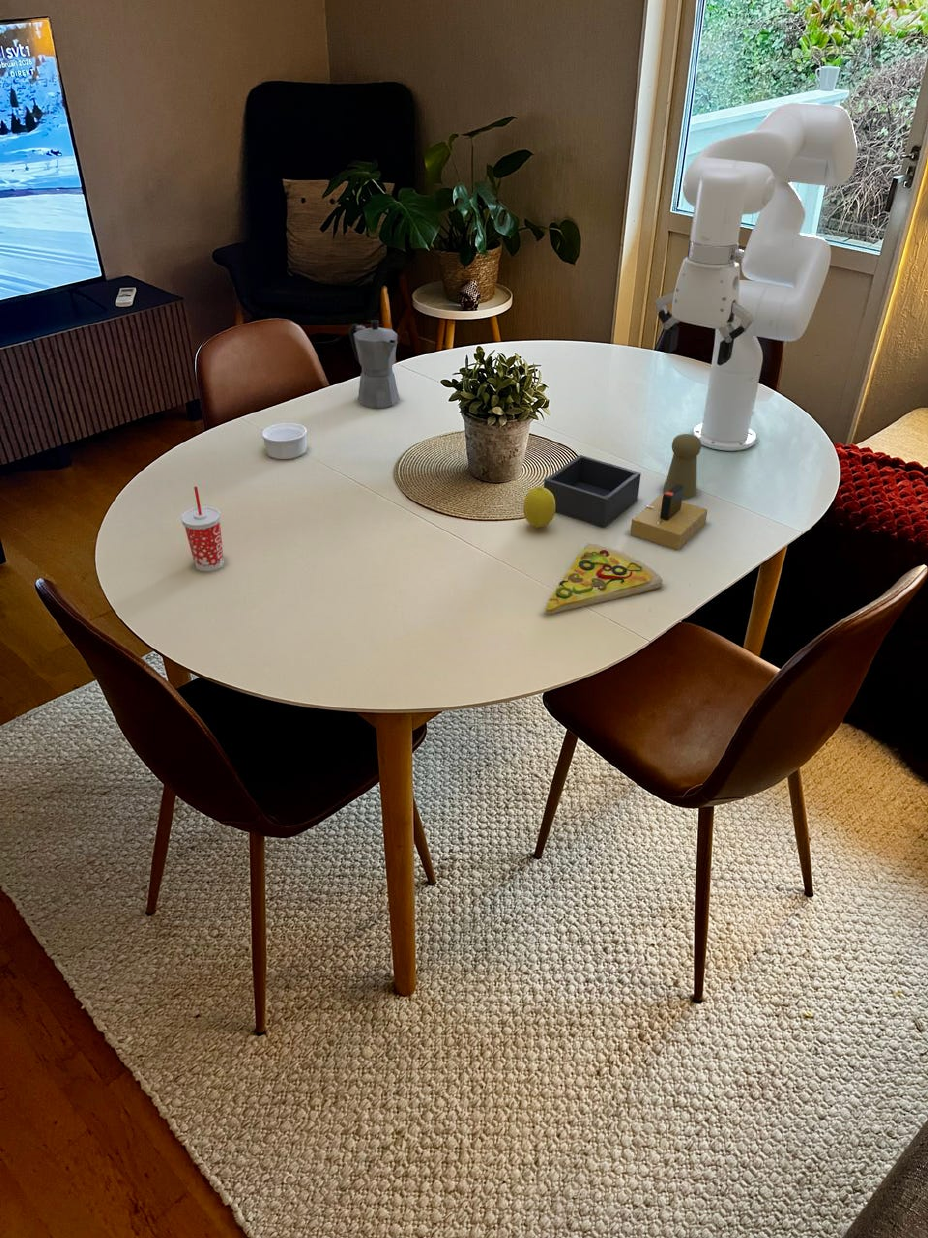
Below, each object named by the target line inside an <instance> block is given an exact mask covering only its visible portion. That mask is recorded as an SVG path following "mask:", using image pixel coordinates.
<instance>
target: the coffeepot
mask: <svg viewBox="0 0 928 1238" xmlns="http://www.w3.org/2000/svg"><path fill="white" fill-rule="evenodd" d="M370 324H371V327H368V328H366V326H364V325H361V324H360V325H359V324H358V323H352V324H351V326H350V327H349V329H348V336H349V339H350V343H351V347H352V350H353V354H354V357H355V358H354V359H355V360H356V361H357V362H358V363H359V365H360V366H361V373H360V376H359V384H358V385H359V386H358V395H357V401H358V403H359V404H360V405H361V406H362V407H364V408H368V409H378V410H379V409H387V408H391V407H393V406H396V405H397V404H398V402H399V401H401V400H400V394H399V391H398V385H397V381H396V377H395V373H394V371H393V366H394V365H395V362H396V361H395V360H396V354H397V353H396V352H397V344H398V334H397V332H396V331H394V329H391V328H386V327H379V320H377V319H373V320H370Z"/></svg>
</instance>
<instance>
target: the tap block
mask: <svg viewBox="0 0 928 1238" xmlns="http://www.w3.org/2000/svg"><path fill="white" fill-rule="evenodd" d="M663 495H664V494H660V495H659V496H658V497H657V498H655V499H654V500H653V501H652V502H650V503H649V504H648V505H645V507H644V509H642V510H641V511H640V512H639V513H637V514H636V515H635V516H634V517H633V518H632V519H631V525H630V533H629V535H630V536H634V537H637V538H640V539H643V540H646V541H649V542H651V543H655V544H658V545H661V546H664V547H667V548H670V549H673V550H676V551H679V550H680V549H681V548H682V547H683V546H684V545H685V544H686V543H688V542H689V540H690V539H691V538H692V537H693V536H695V535H696V534H697V533H698V532H699V531H700V530H701V529H702V528H704V526H705V525H706V521H707V518H708V517H707V516H708V510H709V509H708V508H705V507H702V506H699V505H695V504H693V503H689V502H685V501H682V503H681V509H680V510H679V511H678V512H677V513H676V514H675V515H674V516H672V517H671V518H670V519H669V520H668V521H667V520H664V519H661V518H660V515H661V508H662V501H663Z"/></svg>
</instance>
